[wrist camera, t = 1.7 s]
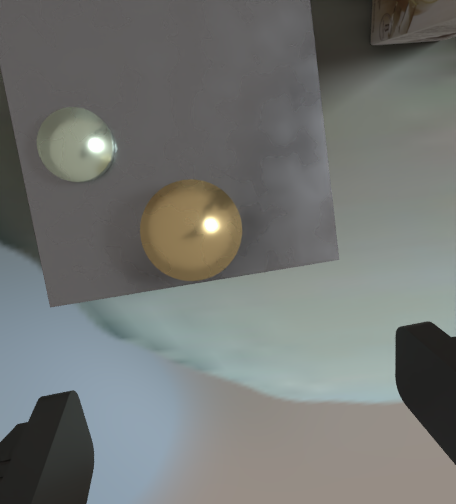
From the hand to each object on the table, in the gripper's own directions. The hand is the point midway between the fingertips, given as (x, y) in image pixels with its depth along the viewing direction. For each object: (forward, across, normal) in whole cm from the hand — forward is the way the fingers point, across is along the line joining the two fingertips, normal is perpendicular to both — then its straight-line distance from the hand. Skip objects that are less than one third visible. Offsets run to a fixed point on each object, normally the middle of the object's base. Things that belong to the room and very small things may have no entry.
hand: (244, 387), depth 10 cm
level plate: (+16, 0, -8) cm, 18 cm away
